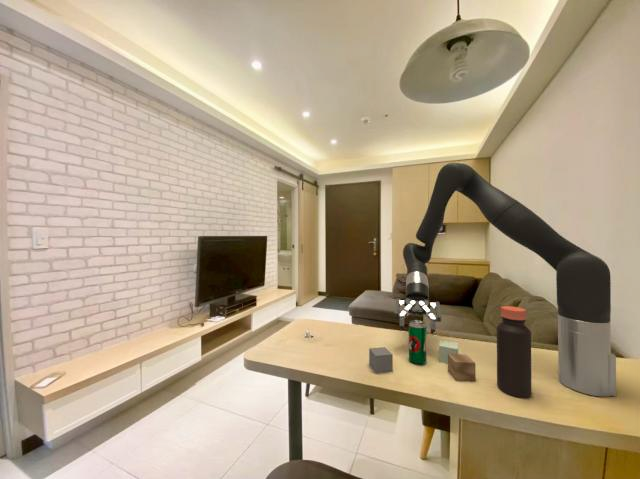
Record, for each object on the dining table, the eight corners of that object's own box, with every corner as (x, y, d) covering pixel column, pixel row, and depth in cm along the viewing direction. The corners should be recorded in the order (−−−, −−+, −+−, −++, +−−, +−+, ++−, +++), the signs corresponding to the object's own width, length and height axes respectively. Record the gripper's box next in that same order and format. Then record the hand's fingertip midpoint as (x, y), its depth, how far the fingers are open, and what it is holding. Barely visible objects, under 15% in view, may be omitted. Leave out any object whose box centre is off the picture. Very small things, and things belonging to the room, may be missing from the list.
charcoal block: (385, 363, 77) (385, 347, 77) (392, 372, 72) (392, 354, 72) (369, 365, 76) (369, 348, 76) (375, 373, 71) (375, 355, 71)
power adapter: (309, 336, 100) (309, 328, 100) (313, 338, 99) (313, 329, 99) (303, 338, 98) (303, 330, 98) (308, 340, 96) (308, 331, 96)
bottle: (538, 394, 61) (537, 310, 62) (520, 401, 59) (520, 313, 59) (507, 380, 68) (507, 304, 68) (490, 386, 65) (490, 306, 65)
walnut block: (466, 372, 72) (466, 354, 72) (475, 382, 67) (475, 362, 67) (447, 371, 72) (447, 353, 73) (455, 381, 68) (455, 362, 68)
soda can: (428, 366, 75) (427, 325, 75) (409, 364, 76) (409, 324, 76) (424, 358, 80) (424, 320, 80) (407, 357, 81) (407, 319, 81)
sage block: (458, 359, 80) (458, 343, 80) (457, 366, 75) (457, 349, 76) (440, 355, 82) (440, 340, 82) (439, 362, 78) (438, 345, 78)
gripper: (395, 280, 91) (392, 322, 81) (439, 282, 86) (443, 327, 76) (396, 292, 96) (394, 333, 86) (438, 295, 91) (441, 339, 81)
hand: (417, 330), depth 81 cm, fingers open, 8 cm apart
